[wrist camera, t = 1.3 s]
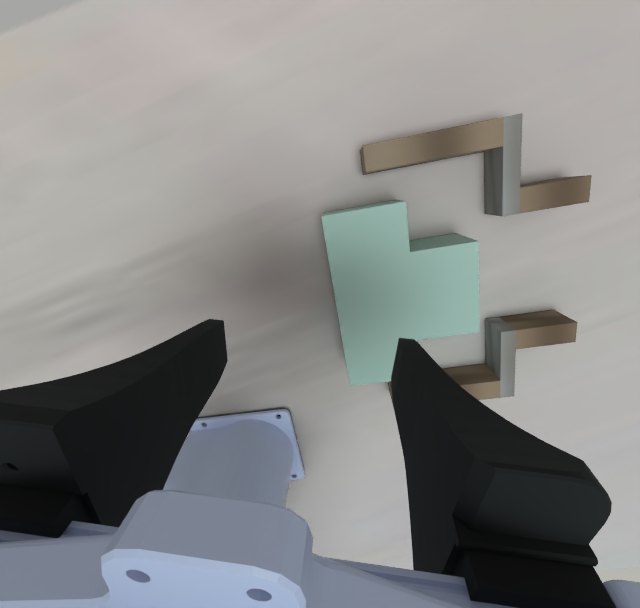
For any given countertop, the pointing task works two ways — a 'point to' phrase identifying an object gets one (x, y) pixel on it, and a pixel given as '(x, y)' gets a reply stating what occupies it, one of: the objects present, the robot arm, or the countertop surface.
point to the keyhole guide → (500, 199)
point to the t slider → (396, 285)
